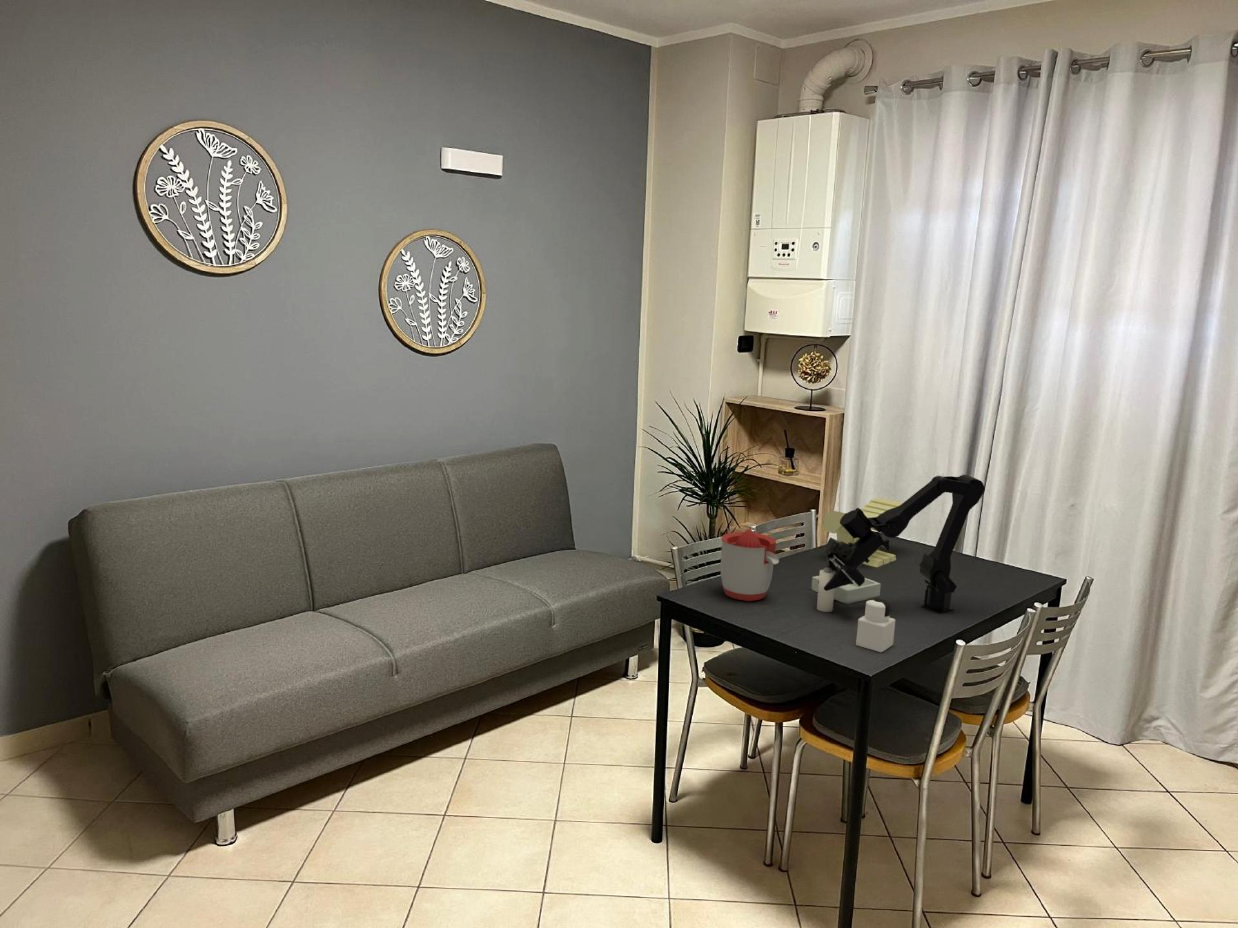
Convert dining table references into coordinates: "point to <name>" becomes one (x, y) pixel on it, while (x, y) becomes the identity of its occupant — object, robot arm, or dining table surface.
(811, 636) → the dining table surface
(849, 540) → the slatted curved stool
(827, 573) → the grey-capped cream cylinder
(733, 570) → the citrus juicer
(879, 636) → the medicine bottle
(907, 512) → the robot arm
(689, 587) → the dining table surface
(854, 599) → the walled box
